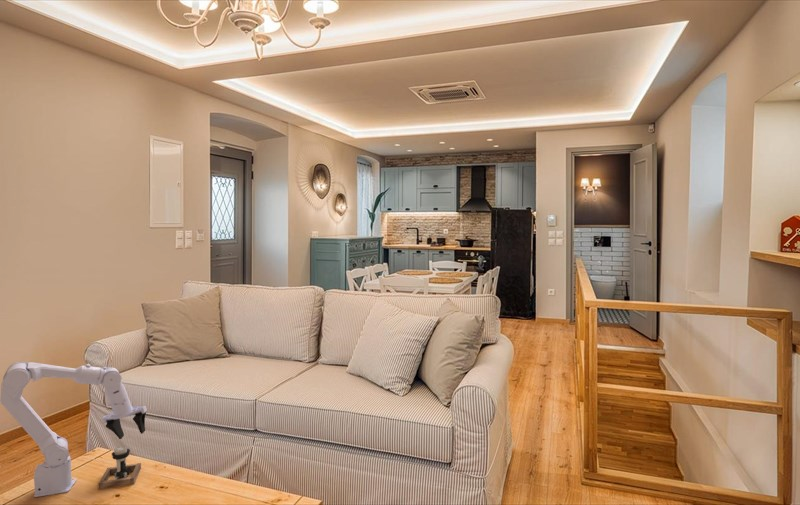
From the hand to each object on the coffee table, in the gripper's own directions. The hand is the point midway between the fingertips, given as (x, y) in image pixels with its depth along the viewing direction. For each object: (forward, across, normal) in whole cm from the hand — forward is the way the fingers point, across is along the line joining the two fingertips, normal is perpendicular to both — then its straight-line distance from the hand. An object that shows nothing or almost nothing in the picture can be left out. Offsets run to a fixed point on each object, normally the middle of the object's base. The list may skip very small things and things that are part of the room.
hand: (132, 434), depth 167 cm
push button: (+11, +4, +9) cm, 14 cm away
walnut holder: (+10, +4, +9) cm, 14 cm away
